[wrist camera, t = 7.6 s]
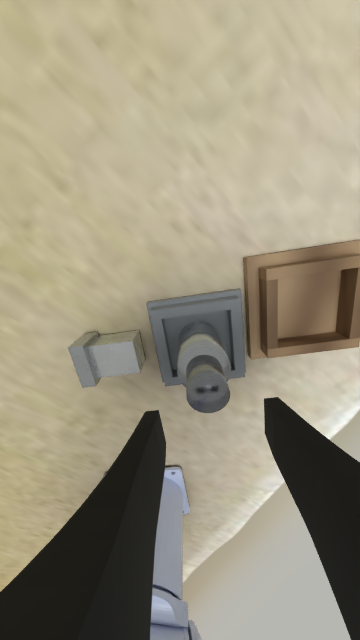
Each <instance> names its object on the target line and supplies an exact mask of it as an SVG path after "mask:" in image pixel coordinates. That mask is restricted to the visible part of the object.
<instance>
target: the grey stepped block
mask: <svg viewBox="0 0 360 640" xmlns="http://www.w3.org/2000/svg"><path fill="white" fill-rule="evenodd" d="M68 349H69V352H70V355H71V357H72V360H73V363H74V366H75V369H76V371H77V374H78V377H79V380H80V383H81V385H82V388H84V387H93V386H96V385H97V384H98V382H99V381H100V379H101V378H102V377H109V376H117V375H126V374H134V373H140V372H141V369H142V366H143V364H144V361H145V355H144V351H143V347H142V342H141V338H140V334H139V330H136V331H128V332H121V333H113V334H106V335H99V334H98V332H91V333H85V334H84V335H83V336H81V337H80V338H79V339H78V340H77V341H75V342H74V343H73V344H72V345H71V346H69V347H68Z"/></svg>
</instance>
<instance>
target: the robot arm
mask: <svg viewBox="0 0 360 640" xmlns="http://www.w3.org/2000/svg"><path fill="white" fill-rule="evenodd" d="M264 414H265V435H266V437H267V440H268V443H269V446H270V449H271V451H272V454H273V457H274V459H275V461H276V463H277V465H278V467H279V470H280V472H281V474H282V476H283V478H284V480H285V482H286V484H287V486H288V488H289V490H290V492H291V494H292V497H293V499H294V501H295V503H296V505H297V507H298V509H299V511H300V513H301V515H302V517H303V519H304V521H305V524H306V526H307V528H308V531H309V533H310V535H311V537H312V540H313V542H314V545H315V547H316V550H317V552H318V555H319V557H320V560H321V562H322V565H323V567H324V570H325V572H326V575H327V577H328V580H329V583H330V585H331V588H332V590H333V593H334V596H335V598H336V601H337V603H338V606H339V609H340V611H341V614H342V616H343V619H344V622H345V624H346V627H347V630H348V632H349V635H350V638H351V640H360V462H358V461H357V460H355V459H354V458H352V457H351V456H350V455H349V454H347V453H346V452H344V451H343V450H342V449H340V448H339V447H338V446H336V445H335V444H334V443H332V442H331V441H330V440H329V439H327V438H326V437H325V436H324V435H322V434H321V433H320V432H319V431H317V430H316V429H315V428H314V427H312V426H311V425H310V424H309V423H307V422H306V421H305V420H304V419H303V418H301V417H300V416H299V415H298V414H297V413H296V412H294V411H293V410H292V409H291V408H290V407H289V406H287V405H286V404H285V403H284V402H283V401H282V400H281V399H279V398H278V397H276V398H266V399H264ZM165 458H166V441H165V436H164V432H163V427H162V423H161V419H160V414H159V410H156V411H146V412H145V413H144V415H143V417H142V419H141V420H140V422H139V424H138V425H137V427H136V429H135V431H134V432H133V434H132V435H131V437H130V439H129V440H128V442H127V443H126V445H125V447H124V448H123V450H122V451H121V453H120V454H119V456H118V457H117V459H116V460H115V462H114V463H113V464H112V466H111V467H110V469H109V470H108V472H107V473H106V474H104V477H103V479H102V480H101V481H100V483H99V484H98V485H97V487H96V488H95V489H94V490H93V492H92V493H91V494H90V495H89V497H88V498H87V499H86V500H85V502H84V503H83V504H82V505H81V507H80V508H79V509H78V510H77V511H76V512H75V514H74V515H73V516H72V517H71V518H70V519H69V521H68V522H67V523H66V524H65V525H64V526H63V528H62V529H61V530H60V531H59V532H58V533H57V534H56V535H55V536H54V538H53V539H52V540H51V541H50V542H49V543H48V544H47V545H46V546H45V547H44V548H43V549H42V550H41V551H40V552H39V553H38V554H37V556H36V557H35V558H34V559H33V560H32V561H31V562H30V563H29V564H28V565H27V566H26V567H25V568H24V569H23V570H22V571H21V572H20V573H19V574H18V575H17V576H16V577H15V578H14V579H13V580H12V581H11V582H10V583H9V584H8V585H7V586H6V587H5V588H4V589H3V590H2V591H1V592H0V640H201V637H200V635H199V633H198V630H197V627H196V625H195V623H194V622H193V621H192V620H188V602H186V601H182V562H183V514H187V513H189V511H190V508H189V503H188V498H187V493H186V488H185V484H184V479H183V474H182V469H181V468H180V467H168V468H165Z"/></svg>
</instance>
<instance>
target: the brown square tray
mask: <svg viewBox="0 0 360 640" xmlns="http://www.w3.org/2000/svg"><path fill="white" fill-rule="evenodd" d="M244 274H245V294H246V315H247V336H248V355H249V357H250V358H251V359H257V358H265V357H267V358H272V357H281V356H289V355H297V354H305V353H314V352H322V351H330V350H338V349H347V348H355V347H359V342H360V240H354V241H348V242H341V243H335V244H328V245H322V246H315V247H309V248H302V249H296V250H289V251H282V252H276V253H269V254H263V255H256V256H250V257H244Z"/></svg>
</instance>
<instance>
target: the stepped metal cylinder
mask: <svg viewBox="0 0 360 640" xmlns="http://www.w3.org/2000/svg"><path fill="white" fill-rule="evenodd" d="M177 374H178V377H179V380H180V381H181V383H182V384H183V385H184V386H185V387H186V392H187V401H188V403H189V405H190V406H191V407H192V408H193V409H195V410H197V411H199V412H202V413H213V412H217V411H219V410H221V409H222V408H224V407H225V406H226V405H227V403H228V401H229V399H230V390H229V387H228V384H227V381H228V379H229V377H230V374H231V364H230V361H229V359H228V356H227V354H226V351H225V349H224V347H223V344H222V342H221V339H220V337H219V335H218V332H217V330H216V329H215V328H214V327H213V326H212V325H211V324H209V323H207V322H204V321H195V322H191V323H189V324H188V325H186V326H185V327H184V328H183V329H182V331H181V332H180V335H179V346H178V364H177Z"/></svg>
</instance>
